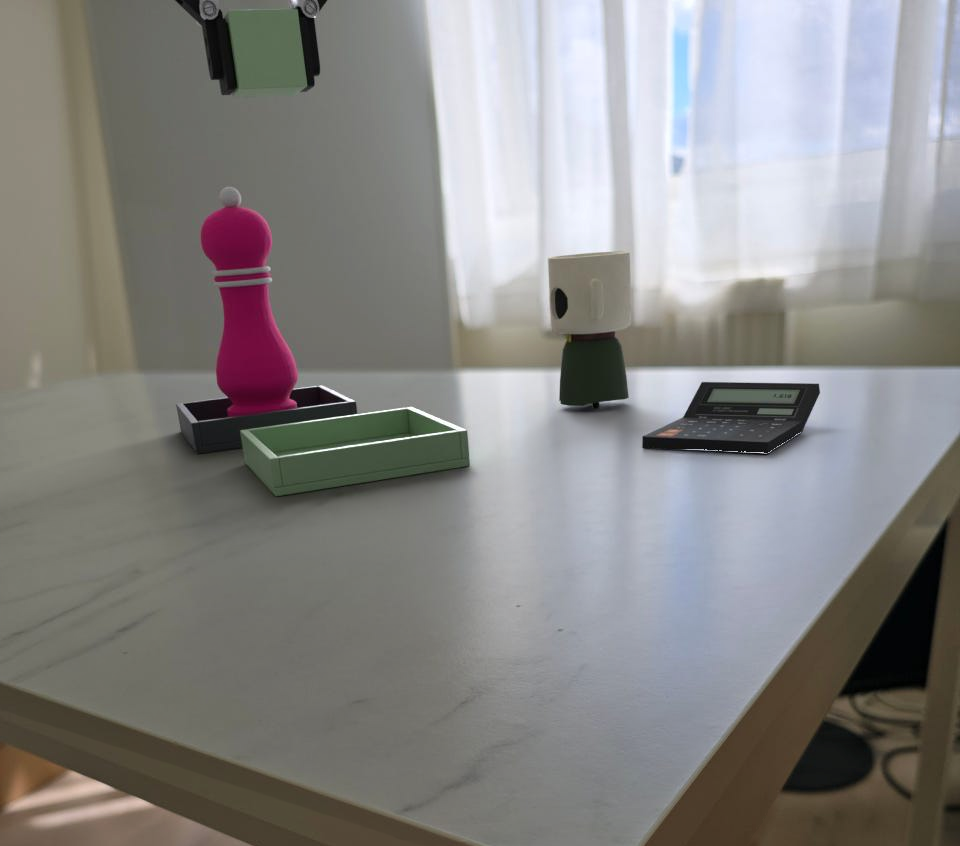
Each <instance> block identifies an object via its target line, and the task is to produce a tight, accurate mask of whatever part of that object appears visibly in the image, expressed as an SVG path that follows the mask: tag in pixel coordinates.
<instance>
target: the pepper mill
mask: <svg viewBox="0 0 960 846" xmlns="http://www.w3.org/2000/svg"><path fill="white" fill-rule="evenodd" d="M219 201H220V204H221V205H222V206H223V208H219V209H217V210H215V211H213V212H211V213H210V214H209V215H208V216H207V217H206V218H205V219H204V221H203V224H202V225H201V229H200V244H201V245H200V246H201V248H202V251H203V253H204V255H205V256H206V257H207V259H209V261H210V262H211V263H212V264H213V265H214V267H215V270H213V271H212V272H211V275H212V276H213V277H214V278H213V280H214V283H213V286H214V287H215V288H218V289H219V293H220V297H221V301H222V302H221V303H222V308H223V329H222V336H221V341H220V345H219V349H218V353H217V356H216V357H217V358H216V364H215V365H216V366H215V373H216V374H215V375H216V376H215V377H216V383H217V387H218V388H219V390H220V391H221V393H223V394H224V395H225V396H226V397H228V398H229V399H230V400H231V401H232V403H233V405H232V406H231V407H229V408H228V410H227V412H228V417H234V416H242V415H249V414H257V413H264V412H272V411H280V410H287V409H295V408H297V403H296V402H295V401H294V400H291V399H289V395H290V393H291V391H292V390H293V389H295V387H296V384H297V382H298V379H299V373H298V368H297V363H296V360H295V358H294V355H293V353H292V351H291V349H290V347H289V345H288V344H287V342H286V340H285V339H284V337H283V335H282V334H281V331H280V329H279V327H278V325H277V322H276V320H275V318H274V315H273V311H272V306H271V302H270V294H269V293H270V291H269V284H271V283H272V282H273V278H272V277H271V273H270V272H271V269H272V268H271V267H270V266H267V265H266V262H267V259H268V257H269V255H270V253H271V251H272V248H273V237H272V231H271V229H270V226H269V224H268V222H267V220H266V219H265V218H264V217H263V216H262V215H261V214H260V213H258V211H256V210H254V209H251V208H248V207H244V206H240V205H241V203H242V196H241V193H240V192H239V190H238V189H237V188H235V187H233V186H226V187H224V188H222V189H221V191H220V193H219Z"/></svg>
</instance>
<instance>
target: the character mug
mask: <svg viewBox="0 0 960 846" xmlns="http://www.w3.org/2000/svg"><path fill="white" fill-rule="evenodd" d="M547 271H548V289H549V290H548V293H549V296H548V299H549V300H548V301H549V315H550V327H551V331H552V332H554V333H556V334H559V335H560V334H561V335H565V342H564V346H563V348H562V353H561V354H562V355H561V362H560V363H561V365H560V375H559V397H558V398H559V399H558V402H560V405H564V406H568V407H577V406H578V407H583V406H588V405H591V408H592V409H594V410H598V409H599V408H600V403H603V402H604V403H605V402H612V401H622V400H627V399H630V397H629V395H630V394H629V388H628V387H629V385H628V377H627V371H626V364H625V357H624V351H623V345H622V343H621V341H620V340H619V338H618V337H617V336H616V332H619V331H622V330H626V329H627V328H630V326H631V325H632V288H631V287H632V284H631V283H632V282H631V251H628V250H617V251H615V250H614V251H599V252H586V253H585V252H584V253H576V254H567V255H566V254H565V255H557V256H551V257H548V258H547Z"/></svg>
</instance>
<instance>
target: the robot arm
mask: <svg viewBox="0 0 960 846" xmlns="http://www.w3.org/2000/svg"><path fill="white" fill-rule="evenodd" d="M174 1H175V2H176V3H177V4H178V5H179V6H180V7H181V8H182V9H183V10H184V11H185V12H186V13H188V14H189V15H190V16H191V18H193V19H194V20H195V23H196V25H197V26H199V27H200V28H201V30H202V36H203V43H204V49H205V55H206V62H207V67H208V74H209V78H210V80H211V81H218V83H219V89H220V93H221V96H230V94H231V93H232V92H233V91H234V90H235V89H236V88H237V79H236V72H235V66H234V59H233V52H232V46H231V39H230V33H229V26H228V22H226V20H225V19H223V18H224V15H223V11H222V10H221V9H220V0H174ZM327 2H328V0H287V3H288V6H289V9H297V10H298V17H299V25H300V33H301V40H302V48H303V56H304V64H305V72H306V80H307V87H306V88H304V89H303V90H301V91H300V92H299V93H306V92H308V91H310V90H311V89H312V88H314V87H315V84H316V83H315V81H316V80H315V77H319V76H320V74H321V62H320V55H319V46H318V37H317V29H316V21H315V19H316V18H317V16H318V15H319V13H320V12H321V10H322V9H323V7H324V6H325V4H326V3H327Z"/></svg>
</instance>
